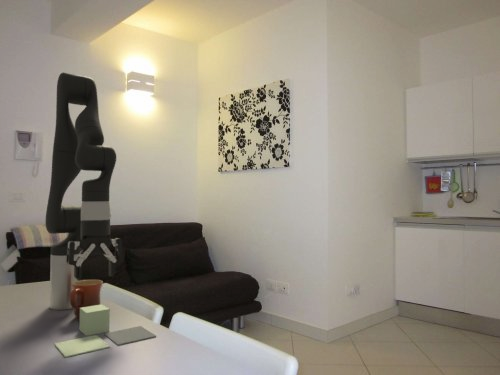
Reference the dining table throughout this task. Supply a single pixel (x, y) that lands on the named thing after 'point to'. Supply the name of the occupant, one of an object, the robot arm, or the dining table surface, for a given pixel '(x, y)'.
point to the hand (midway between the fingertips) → (95, 278)
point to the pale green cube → (94, 319)
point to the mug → (85, 294)
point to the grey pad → (129, 335)
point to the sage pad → (81, 346)
